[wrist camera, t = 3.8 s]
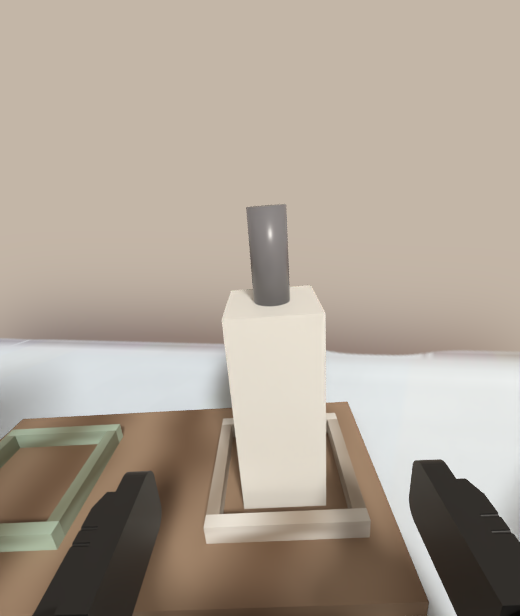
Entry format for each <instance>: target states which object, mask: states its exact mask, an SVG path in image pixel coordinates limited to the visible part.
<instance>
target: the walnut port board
mask: <svg viewBox="0 0 520 616" xmlns="http://www.w3.org/2000/svg"><path fill="white" fill-rule="evenodd" d="M135 471H152V472H153V473H154V477H155V481H156V485H157V490H158V494H159V498H160V502H161V508H162V516H161V524H160V528H159V532H158V535H157V538H156V541H155V544H154V548H153V551H152V554H151V557H150V560H149V564H148V567H147V570H146V573H145V576H144V580H143V583H142V586H141V589H140V592H139V596H138V599H137V602H136V605H135V608H134V611H133V615H132V616H427V611H428V605H429V601H428V599H427V596H426V594H425V591H424V589H423V586H422V584H421V582H420V579H419V577H418V574H417V572H416V569H415V567H414V564H413V562H412V559H411V557H410V554H409V552H408V550H407V547H406V545H405V542H404V540H403V537H402V535H401V532H400V530H399V527H398V525H397V522H396V520H395V518H394V515H393V513H392V510H391V508H390V505H389V503H388V500H387V498H386V495H385V493H384V490H383V488H382V486H381V483H380V481H379V478H378V476H377V473H376V471H375V468H374V466H373V463H372V461H371V459H370V456H369V454H368V451H367V449H366V446H365V444H364V441H363V439H362V436H361V434H360V431H359V429H358V427H357V424H356V422H355V419H354V417H353V414H352V412H351V409H350V407H349V404H348V402H335V403H326V506H303V507H279V508H256V509H244V502H243V494H242V486H241V477H240V469H239V461H238V452H237V444H236V436H235V427H234V419H233V410H232V408H223V409H204V410H186V411H167V412H148V413H130V414H111V415H92V416H74V417H55V418H37V419H23V420H22V421H21V422H19V423H18V424H17V425H16V426H15V427H14V428H13V429H12V430H11V431H10V432H9V433H8V434H7V435H5V436H4V437H3V438H2V439H1V440H0V616H32V615H33V613H34V612H35V610H36V608H37V606H38V604H39V603H40V601H41V599H42V597H43V595H44V594H45V592H46V590H47V588H48V586H49V584H50V583H51V581H52V579H53V577H54V575H55V574H56V572H57V570H58V568H59V566H60V564H61V563H62V561H63V559H64V557H65V555H66V554H67V552H68V550H69V548H70V547H72V543H73V541H74V539H75V537H76V535H77V534H78V532H79V531H80V530H81V526H82V524H83V523H84V521H85V519H86V517H87V515H88V514H89V512H90V510H91V508H92V507H93V506H94V505H95V504H96V503H97V502H98V501H99V500H100V499H101V498H102V497H103V496H104V495H105V493H106V492H116V490H117V488H118V486H119V484H120V482H121V480H122V478H123V476H124V474H125V473H126V472H135Z"/></svg>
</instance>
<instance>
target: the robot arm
mask: <svg viewBox="0 0 520 616" xmlns="http://www.w3.org/2000/svg"><path fill="white" fill-rule="evenodd" d="M409 504H410V510H411V514H412V517H413V520H414V522H415V524H416V526H417V529H418V531H419V533H420V535H421V537H422V540H423V542H424V544H425V546H426V548H427V551H428V553H429V555H430V557H431V559H432V561H433V564H434V566H435V568H436V570H437V572H438V575H439V577H440V579H441V581H442V583H443V586H444V588H445V590H446V592H447V594H448V597H449V599H450V601H451V603H452V605H453V607H454V610H455V612H456V614H457V616H520V542H519V541H518V540H517V538H516V537H515V535H514V534H512V533H511V532H510V529H509V527H508V526H507V524H506V523H505V522H504V520H503V519H502V518H501V517H499V515H498V512H497V511H496V509H495V508H494V507H493V505H492V504H491V503H490V501H489V500H488V498H487V497H486V496H485V494H484V493H482V492H481V491H480V490H479V489H477V488H476V487H475V486H474V485H473V484H471V483H470V482H469V481H468V480H467V479H456V478H455V476H454V475H453V473H452V472H451V471H450V469H449V468H448V466H447V465H446V463H445V462H444V461H443V460H417V461H414V463H413V468H412V476H411V485H410V493H409ZM161 516H162V508H161V502H160V498H159V494H158V490H157V485H156V481H155V477H154V473H153V472H152V471H135V472H126V473H125V474H124V476H123V478H122V480H121V482H120V484H119V486H118V488H117V490H116V492H106V493H105V495H104V496H103V497H102V498H101V499H100V500H99V501H98V502H97V503H96V504H95V505H94V506H93V507H92V508H91V510H90V512H89V514H88V515H87V517H86V519H85V521H84V523H83V524H82V526H81V530H80V531H79V532H78V534H77V535H76V537H75V539H74V541H73V543H72V547H70V548H69V550H68V552H67V554H66V555H65V557H64V559H63V561H62V563H61V564H60V566H59V568H58V570H57V572H56V574H55V575H54V577H53V579H52V581H51V583H50V584H49V586H48V588H47V590H46V592H45V594H44V595H43V597H42V599H41V601H40V603H39V604H38V606H37V608H36V610H35V612H34V613H33V615H32V616H132V615H133V611H134V608H135V605H136V602H137V599H138V596H139V592H140V589H141V586H142V583H143V580H144V576H145V573H146V570H147V567H148V564H149V560H150V557H151V554H152V551H153V548H154V544H155V541H156V538H157V535H158V532H159V528H160V524H161Z"/></svg>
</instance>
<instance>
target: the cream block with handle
mask: <svg viewBox="0 0 520 616" xmlns="http://www.w3.org/2000/svg"><path fill="white" fill-rule="evenodd" d="M246 209H247V222H248V234H249V246H250V257H251V258H250V259H251V271H252V283H253V289H249V290H234V291H231V294H230V296H229V299H228V303H227V305H226V308H225V311H224V314H223V318H222V326H223V335H224V344H225V352H226V360H227V369H228V377H229V385H230V394H231V402H232V410H233V419H234V427H235V436H236V444H237V452H238V461H239V469H240V477H241V486H242V494H243V502H244V509H256V508H279V507H303V506H326V342H325V341H326V323H325V321H326V320H325V319H326V318H325V317H326V316H325V311H324V309H323V308H322V306H321V304H320V302H319V300H318V298H317V296H316V294H315V292H314V290H313V289H312V287H311V285H310V286H295V287H289V263H288V241H287V240H288V239H287V217H286V205H285V204H282V205H265V206H254V207H247V208H246Z"/></svg>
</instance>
